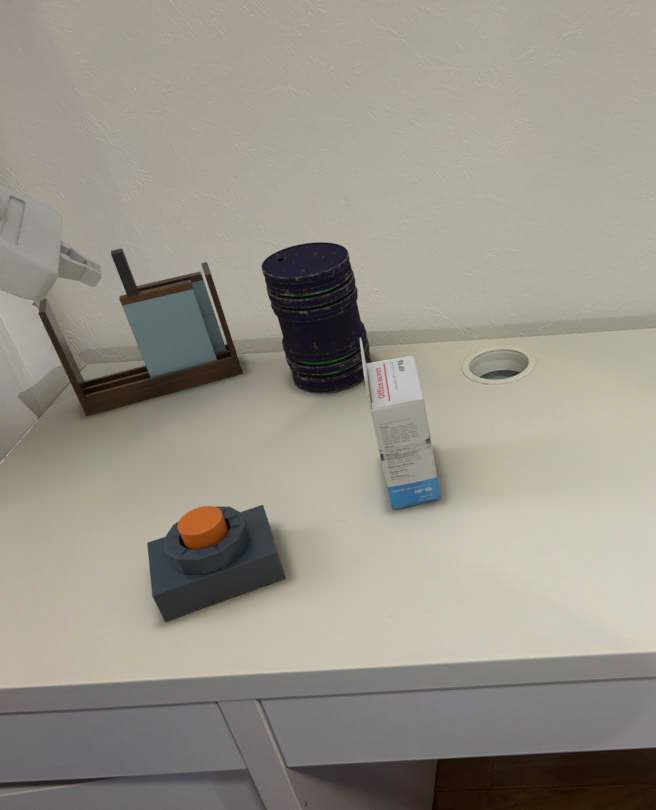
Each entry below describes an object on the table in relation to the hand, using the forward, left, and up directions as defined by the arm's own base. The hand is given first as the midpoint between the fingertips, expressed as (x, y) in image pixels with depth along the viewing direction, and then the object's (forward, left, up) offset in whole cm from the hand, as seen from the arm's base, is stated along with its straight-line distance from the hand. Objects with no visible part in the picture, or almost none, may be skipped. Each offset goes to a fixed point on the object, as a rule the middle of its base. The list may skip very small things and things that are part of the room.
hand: (98, 276), depth 87 cm
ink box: (+23, -32, -16) cm, 42 cm away
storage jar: (+21, -7, -16) cm, 27 cm away
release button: (+4, -36, -11) cm, 38 cm away
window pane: (+5, 0, -14) cm, 15 cm away
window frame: (+2, +1, -16) cm, 16 cm away
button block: (+4, -36, -16) cm, 39 cm away
